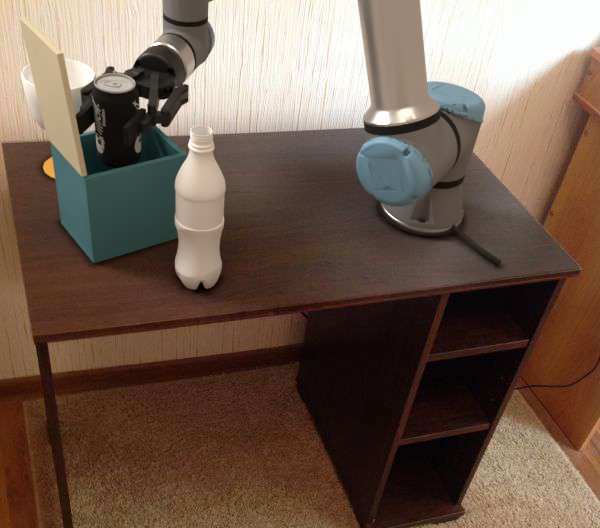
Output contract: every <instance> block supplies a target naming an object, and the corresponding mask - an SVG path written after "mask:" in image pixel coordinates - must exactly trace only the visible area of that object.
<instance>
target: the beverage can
mask: <svg viewBox="0 0 600 528" xmlns="http://www.w3.org/2000/svg"><path fill="white" fill-rule="evenodd" d="M102 74H103V73H102ZM102 74H100V75H98V76H96V78H95V80H94V87H93V89H92V101H93V112H94V123H93V124H94V131H95V134H96V145H97V155H98V158H99V159H100V160H101V161H102V162H103V163H104V164H105V165H107V166H109V167H112V168H121V167H125V166H130V165H134V164H136V163H137V162H138V161H139V160H140V159H141V156H142V152H141V133H140V135H139V136H138V137H137V138H136V139H135V140H134V141H133V142H132V143H131V145H130V146H125V145H124V140H123V127H124V126H125V125H126V123H127V122H128V121H129V120H130V119H131V118H132V117H133V116H134V115H135V114H136V113H137V112H138V111H139V110H140V109H141V107H140V97H139V92H138V90H137V88H136V87H135V85H136V84H135V81H134V79H132V78H131V77H129V76H127V75H124V74H118V73H108V74H103V75H102Z"/></svg>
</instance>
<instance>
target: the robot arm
mask: <svg viewBox="0 0 600 528" xmlns="http://www.w3.org/2000/svg"><path fill="white" fill-rule="evenodd" d="M213 1H214V0H161V2H162V4H161V5H162V34H160V36H159V37H158V38H157V39H156V40H155V41H154V42H152V44H150V45H148V47H147V48H146V49H145V50H144V51H143V52H142V53H141V54H140V55H139V56H138V57H137V58H136V60H135V61H134V63H133V65H132V67H131V68H129V69H125V70H124V72H119V71H117V70H115V67H114V66H111V65H110V66H106V68H105V69H104V72H103V73H102V74H101V75H103V74H108V73H118V74H124V75H127V76H129V77H131V78H132V79H134V81H135V84H136V85H135V87H136V88H137V90H138V92H139V98H142V99H145V100H148V101H147V104H146V108H144V107H140V110H139V111H138V112H137V113H136V114H135V115H134V116H133V117H132V118H131V119H130V120H129V121H128V122H127V123H126V125H125V126H124V127H123V140H124V145H125V146H130V145H131V143H132V142H133V141H134V140H135V139H136V138H137V137H138V136H139V135H140V133H146V132H148V130H149V129H150V128H151V127H152V126H157V125H160V126H161V128H168V127H170V125H171V124H172V122H173V121H174V119H175V118H176V116H177V114H178V113H179V111H180V109H181V108H182V106H184V105H186V104H187V103H189V100H190V99H189V96H190V94H189V93H190V92H189V91H190V90H189V88H190V85H188V84H187V83H186V81H187V80H188V79H189V78H190V76H191V75H193V73H194V72H195V71H196V70H197V69H198V68H199V66H201V65H202V64H204V63H205V62H206V61H207V59H208V58H209V56H210V54H211V52H212V51H213V49H214V46H215V43H216V36H215V31H214V29H213V27H212V24H211V23H210V21H209V7H210V6H209V3H211V2H213ZM356 1H357V10H358V15H359V16H358V17H359V23H360V30H361V37H362V46H363V52H364V59H365V60H364V61H365V68H366V76H367V83H368V91H369V98H370V106H369V107H368V109H367V110H366V111H365V113H364V114H363V117H362V120H363V129H364V137H365V142H364V143H363V144H362V146H361V148H360V150H359V152H358V154H357V156H356V161H355V165H356V166H355V169H356V174H357V177H358V180H359V182H360V184H361V186H362V187H363V188H364V190H365V191H366V192H367V193H368V194H369V195H371V196H372V197H374V199H375V200H376V201H377V202H379V211H380V213H381V216H382V217H383V218H384V219H385V220H386V222H388V223H389V224H390V225H392V226H393V227H395V228H396V229H399V230H400V231H403V232H405V233H408V234H411V235H415V236H420V237H429V238H436V237H437V238H438V237H444V236H448V235H450V234H452V233H455V234H456V235H457V236H458V237H460V238H461V239H462V240H463V241H464V242H465V243H467V245H469V246H470V247H471V248H472V249H473V250H475V251H476V252H477V253H478V254H480V255H481V256H483V257H484V258H486V259H488V260H489V261H490V262H492V263H494V264H495V265H497V266H499V265H500V264H501V263H502V260H501V259H499V258H498V257H496V256H495V255H493V254H492V253H490V252H489V251H487V249H484V248H483V247H482V246H480V245H479V244H477V242H476V241H474V240H473V239H472V238H471V237H469V235H467V234H466V233H465V232H464V231H462V230H461V229H460V227H461V224H462V221H463V218H464V212H465V206H464V180H465V177H466V174H467V172H468V168H469V164H470V162H471V158H472V155H473V152H474V149H475V146H476V143H477V139H478V137H479V133H480V131H481V127H482V124H483V123H484V116H485V112H486V103H485V101H484V99H483V98H482V97H481V96H480V95H479V94H477V93H476V92H474V91H473V90H471V89H468V88H466V87H463V86H461V85H458V84H455V83H450V82H445V81H444V82H443V81H434V80H433V81H428V77H427V76H428V75H427V64H426V52H425V43H424V31H423V19H422V18H423V17H422V7H421V0H356ZM94 80H95V79H94ZM94 80H93V81H92V82H90V83H89V84H87V85H86V86H85V87H83V88H82V89H81V90H80V92H81V102H82V105H81V106H80V111H79V112H78V113H77V114H76V115H75V116H76V121H77V126H78V131H79V134H80V135H82V134H83V133H86V131H87V130H88V129H89V128H90V127H91V126H92V125H94V124H95V123H94V112H93V101H92V89H93V87H94ZM164 100H165V102H164V104H163V105H162V106H161V108H160V110H159V107H160V101H164Z"/></svg>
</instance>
